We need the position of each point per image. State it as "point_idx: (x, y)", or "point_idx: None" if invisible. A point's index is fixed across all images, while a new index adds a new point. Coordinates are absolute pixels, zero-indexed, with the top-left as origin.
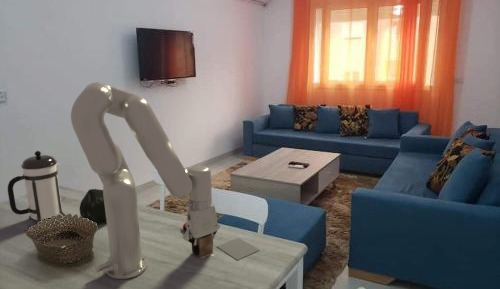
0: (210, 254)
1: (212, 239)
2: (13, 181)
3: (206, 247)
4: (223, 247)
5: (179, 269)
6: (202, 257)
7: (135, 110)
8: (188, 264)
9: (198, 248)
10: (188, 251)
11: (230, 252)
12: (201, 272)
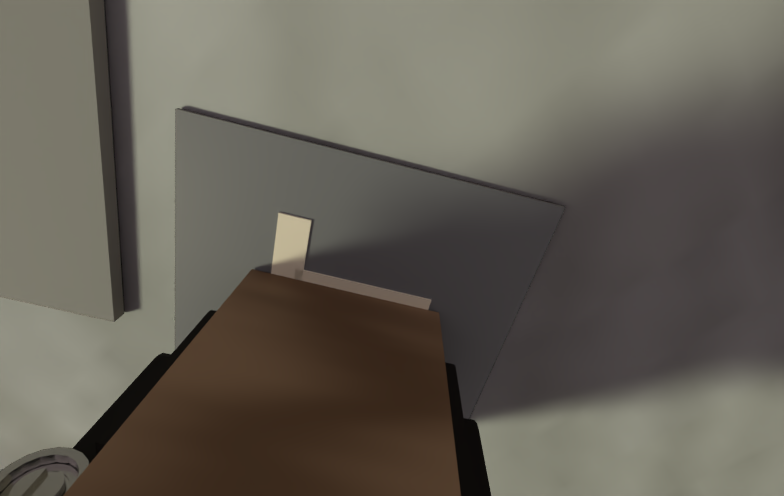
0: (299, 268)
1: (87, 442)
2: None
3: (323, 373)
4: (53, 237)
5: (765, 347)
6: (418, 302)
7: None
8: (624, 335)
9: None
10: None
11: (35, 40)
12: (756, 58)
